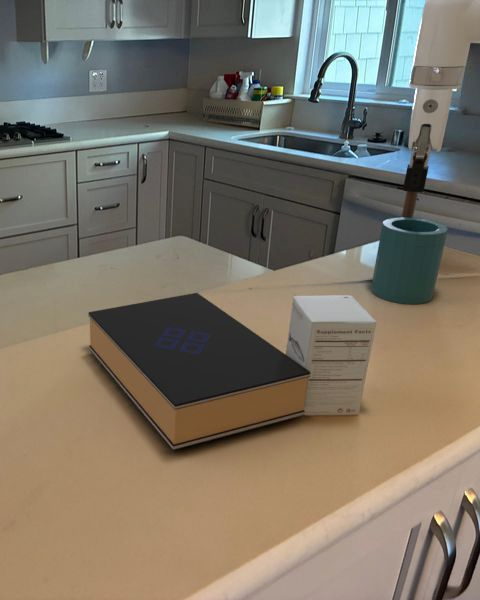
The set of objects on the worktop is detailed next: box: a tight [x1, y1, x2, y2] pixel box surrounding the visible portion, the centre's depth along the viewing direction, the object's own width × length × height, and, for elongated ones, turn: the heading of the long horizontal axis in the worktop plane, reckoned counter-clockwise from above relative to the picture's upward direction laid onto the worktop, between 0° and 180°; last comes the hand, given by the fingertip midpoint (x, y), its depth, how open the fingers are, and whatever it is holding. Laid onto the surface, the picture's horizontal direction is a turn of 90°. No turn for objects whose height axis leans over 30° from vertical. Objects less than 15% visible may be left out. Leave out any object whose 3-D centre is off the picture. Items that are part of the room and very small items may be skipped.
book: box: [87, 292, 311, 451], centre depth 79 cm, size 17×25×7 cm
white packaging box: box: [285, 294, 377, 416], centre depth 73 cm, size 7×7×13 cm
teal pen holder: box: [370, 217, 449, 305], centre depth 103 cm, size 9×9×12 cm
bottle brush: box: [401, 161, 419, 218], centre depth 108 cm, size 4×4×16 cm
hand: (413, 188), depth 107 cm, fingers closed on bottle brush
